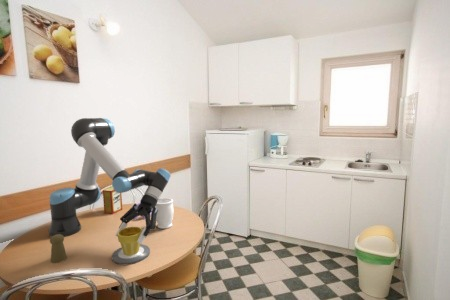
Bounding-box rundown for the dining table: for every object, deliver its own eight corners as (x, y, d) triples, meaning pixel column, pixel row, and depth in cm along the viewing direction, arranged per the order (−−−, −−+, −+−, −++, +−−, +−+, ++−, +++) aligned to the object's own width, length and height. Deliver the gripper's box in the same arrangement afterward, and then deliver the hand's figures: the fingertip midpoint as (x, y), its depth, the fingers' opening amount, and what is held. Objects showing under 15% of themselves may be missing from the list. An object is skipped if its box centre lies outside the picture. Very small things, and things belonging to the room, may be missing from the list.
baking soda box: (112, 214, 170) (110, 190, 168) (104, 213, 172) (102, 189, 170) (122, 209, 179) (120, 186, 177) (114, 208, 180) (112, 186, 179)
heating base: (104, 259, 114) (103, 256, 114) (132, 243, 128) (132, 240, 128) (130, 268, 107) (129, 265, 106) (157, 250, 121) (157, 247, 121)
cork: (69, 255, 118) (67, 232, 116) (61, 262, 112) (59, 238, 110) (56, 256, 117) (53, 232, 116) (47, 263, 111) (45, 238, 110)
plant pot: (135, 258, 111) (134, 237, 110) (114, 256, 113) (112, 235, 112) (147, 247, 121) (146, 227, 120) (127, 245, 123) (126, 225, 122)
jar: (166, 221, 157) (165, 196, 155) (178, 225, 150) (177, 199, 148) (151, 226, 148) (150, 201, 147) (163, 231, 142) (161, 204, 140)
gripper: (174, 204, 123) (153, 248, 112) (136, 198, 135) (114, 237, 124) (167, 197, 118) (144, 242, 107) (128, 190, 130) (103, 230, 118)
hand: (128, 239), depth 115 cm, fingers open, 13 cm apart
